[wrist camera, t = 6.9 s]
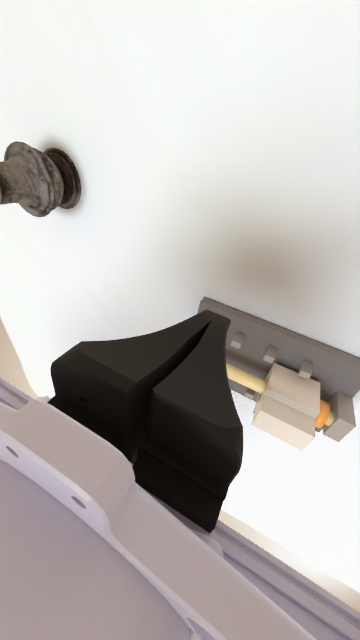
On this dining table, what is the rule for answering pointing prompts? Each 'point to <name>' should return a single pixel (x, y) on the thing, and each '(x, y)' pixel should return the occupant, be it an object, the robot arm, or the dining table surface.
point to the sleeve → (288, 407)
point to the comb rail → (289, 365)
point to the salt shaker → (38, 179)
